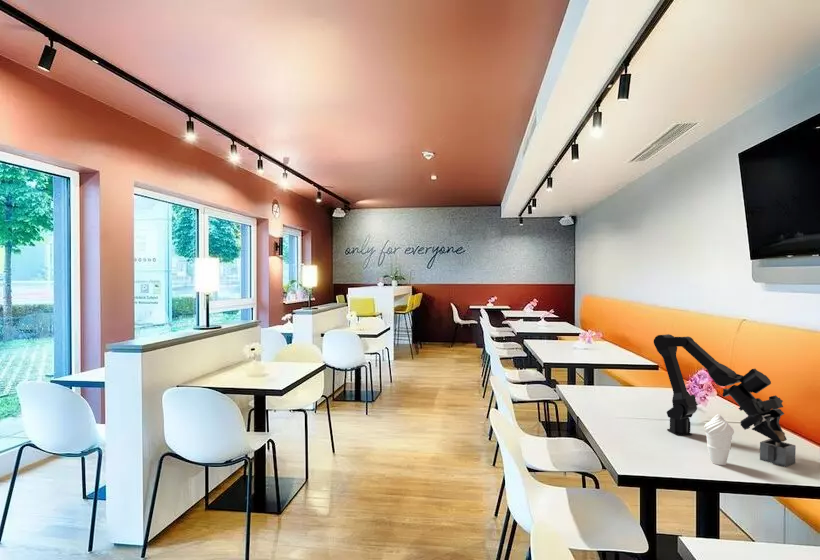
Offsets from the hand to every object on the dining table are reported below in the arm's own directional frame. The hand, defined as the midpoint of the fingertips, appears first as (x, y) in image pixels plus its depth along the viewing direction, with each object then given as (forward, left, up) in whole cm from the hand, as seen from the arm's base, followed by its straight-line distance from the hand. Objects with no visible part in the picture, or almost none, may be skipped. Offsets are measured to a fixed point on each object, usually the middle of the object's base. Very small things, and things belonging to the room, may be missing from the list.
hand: (782, 441), depth 155 cm
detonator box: (-1, +1, -7) cm, 7 cm away
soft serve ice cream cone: (-22, +1, -7) cm, 23 cm away
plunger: (-1, +1, -5) cm, 5 cm away
